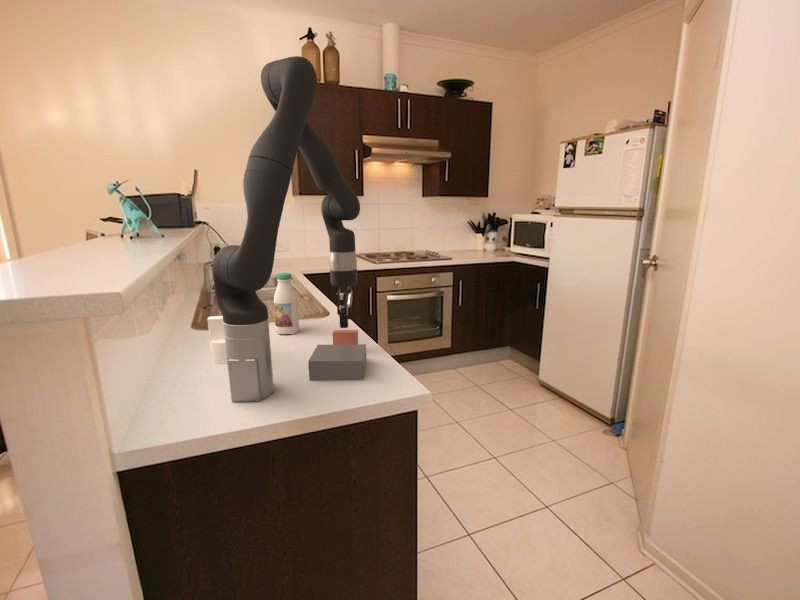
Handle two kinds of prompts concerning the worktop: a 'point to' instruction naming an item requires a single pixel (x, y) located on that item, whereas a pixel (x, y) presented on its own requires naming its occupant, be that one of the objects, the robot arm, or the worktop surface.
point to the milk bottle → (285, 306)
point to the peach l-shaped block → (345, 337)
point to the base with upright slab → (217, 339)
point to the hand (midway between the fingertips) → (346, 323)
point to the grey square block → (338, 362)
